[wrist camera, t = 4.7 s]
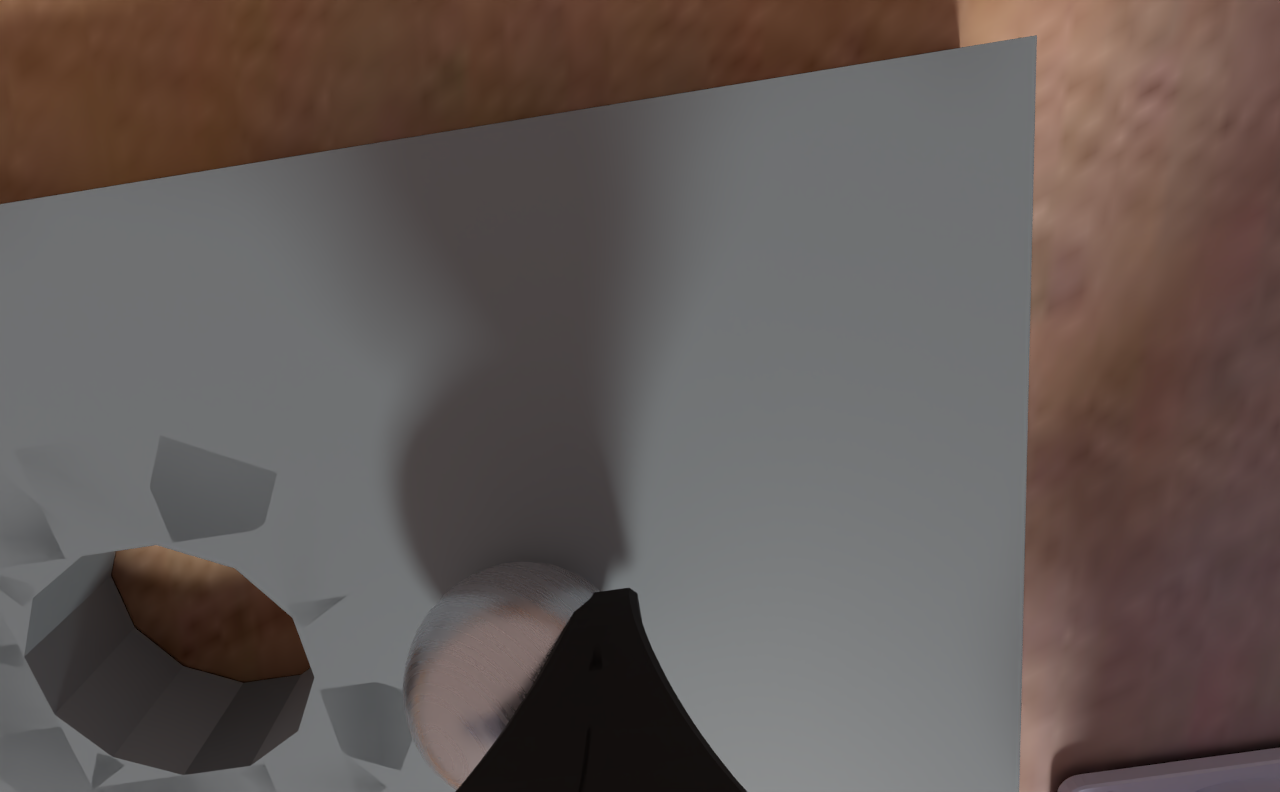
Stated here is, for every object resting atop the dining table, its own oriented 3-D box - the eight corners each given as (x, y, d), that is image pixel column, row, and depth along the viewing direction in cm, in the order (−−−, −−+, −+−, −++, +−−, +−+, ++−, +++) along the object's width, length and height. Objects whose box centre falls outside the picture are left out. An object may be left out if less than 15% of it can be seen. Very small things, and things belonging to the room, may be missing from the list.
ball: (662, 540, 12) (511, 682, 9) (689, 726, 13) (562, 905, 10) (492, 509, 14) (324, 620, 11) (528, 675, 15) (384, 814, 12)
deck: (961, 47, 13) (1036, 35, 11) (967, 780, 19) (1016, 878, 16) (-200, 236, 14) (-370, 264, 11) (144, 891, 19) (78, 1000, 17)
